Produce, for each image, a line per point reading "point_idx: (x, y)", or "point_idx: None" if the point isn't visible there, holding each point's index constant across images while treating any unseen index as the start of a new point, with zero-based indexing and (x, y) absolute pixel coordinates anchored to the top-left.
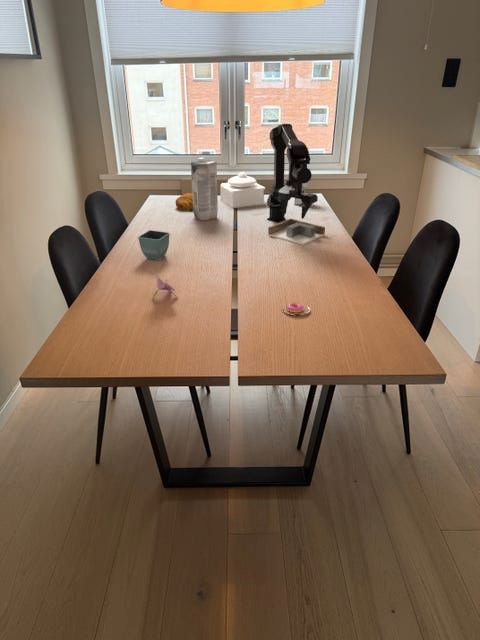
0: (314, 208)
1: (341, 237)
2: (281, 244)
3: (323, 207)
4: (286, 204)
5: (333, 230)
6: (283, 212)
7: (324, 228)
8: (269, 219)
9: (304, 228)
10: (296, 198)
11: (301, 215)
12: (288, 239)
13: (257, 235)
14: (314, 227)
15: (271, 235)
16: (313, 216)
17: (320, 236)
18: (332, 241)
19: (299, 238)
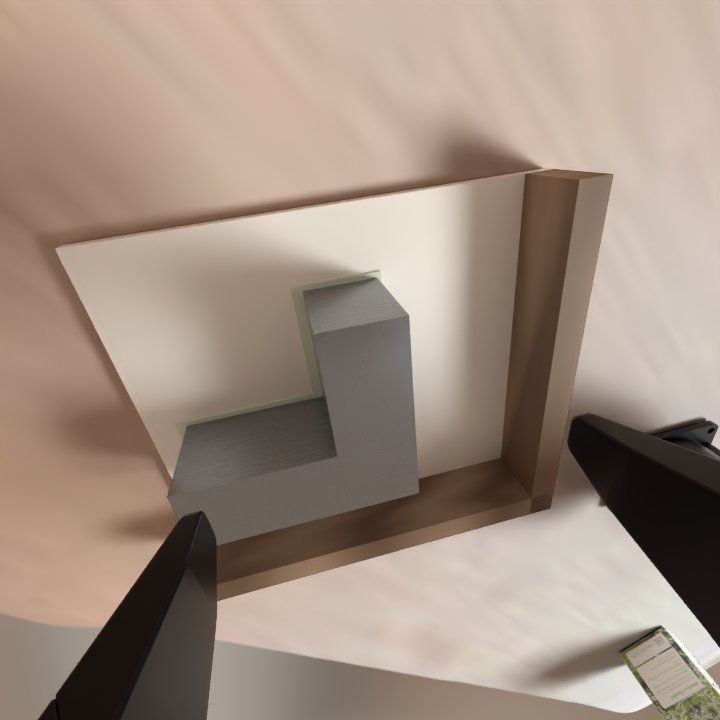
0: (561, 664)
1: (98, 599)
2: (227, 34)
3: (535, 690)
4: (716, 609)
5: (257, 615)
6: (611, 428)
7: None
8: (696, 427)
9: (265, 458)
10: (683, 666)
11: (184, 560)
12: (280, 218)
13: (635, 62)
14: None
15: (506, 175)
16: (503, 626)
17: None
18: (38, 519)
19: (233, 333)
